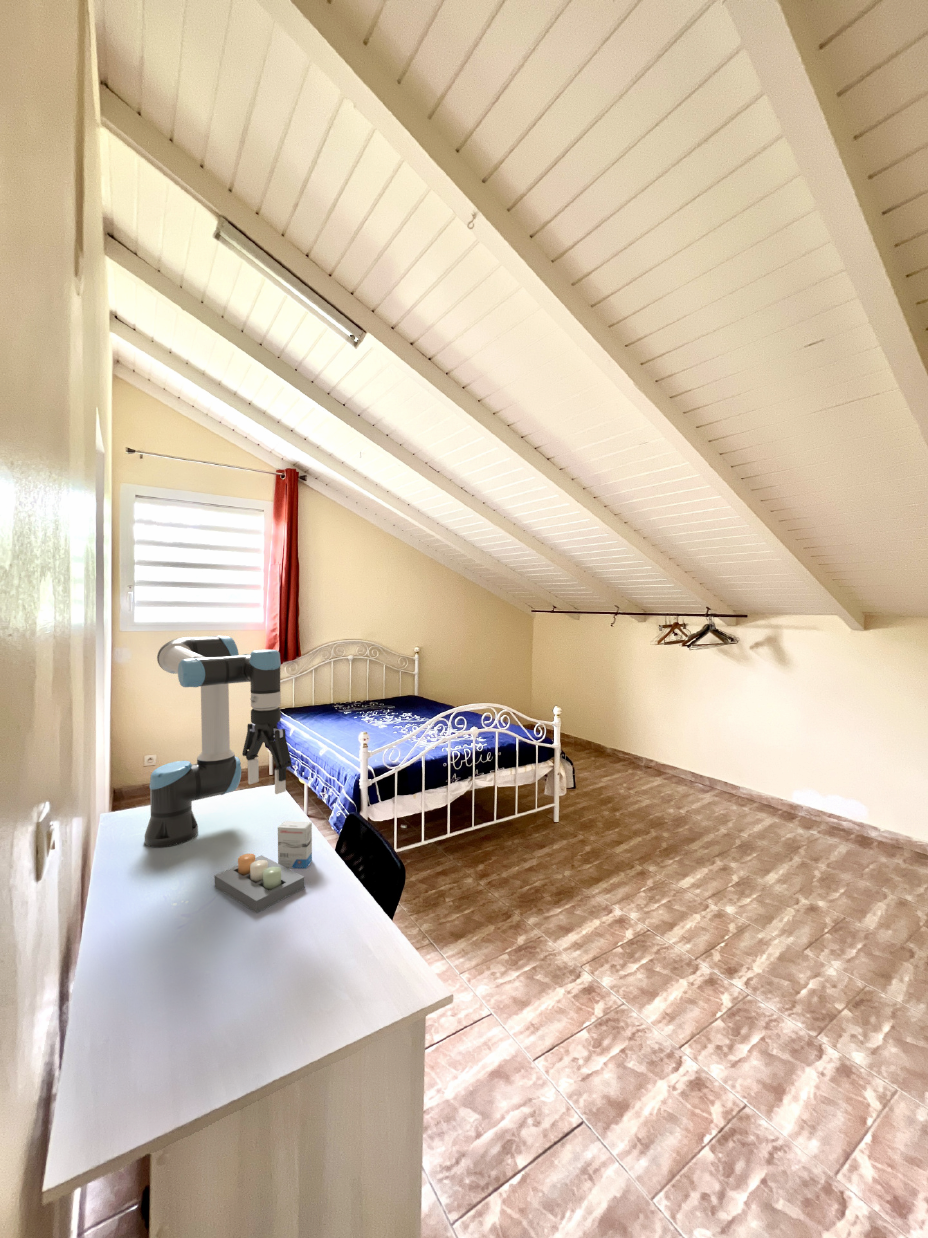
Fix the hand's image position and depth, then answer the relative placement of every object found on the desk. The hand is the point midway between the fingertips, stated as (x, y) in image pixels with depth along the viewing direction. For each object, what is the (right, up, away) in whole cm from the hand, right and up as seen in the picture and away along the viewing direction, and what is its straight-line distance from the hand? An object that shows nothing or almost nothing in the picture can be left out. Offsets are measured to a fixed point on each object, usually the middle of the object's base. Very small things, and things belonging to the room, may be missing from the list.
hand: (266, 787), depth 141 cm
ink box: (+4, -26, +11) cm, 29 cm away
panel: (-1, -26, -1) cm, 26 cm away
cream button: (-1, -24, -1) cm, 24 cm away
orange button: (-6, -24, +2) cm, 25 cm away
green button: (+3, -24, -5) cm, 25 cm away
